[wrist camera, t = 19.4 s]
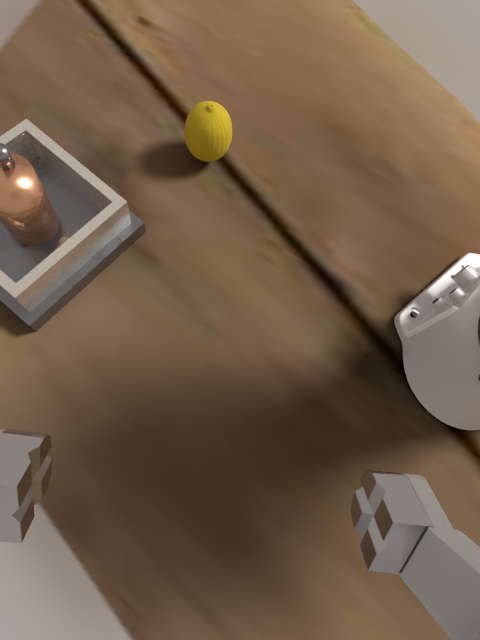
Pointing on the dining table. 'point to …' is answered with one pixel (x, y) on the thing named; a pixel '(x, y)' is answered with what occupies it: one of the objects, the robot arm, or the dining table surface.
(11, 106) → the dining table surface
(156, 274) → the dining table surface
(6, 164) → the copper upright cylinder
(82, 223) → the open square box
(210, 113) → the lemon
